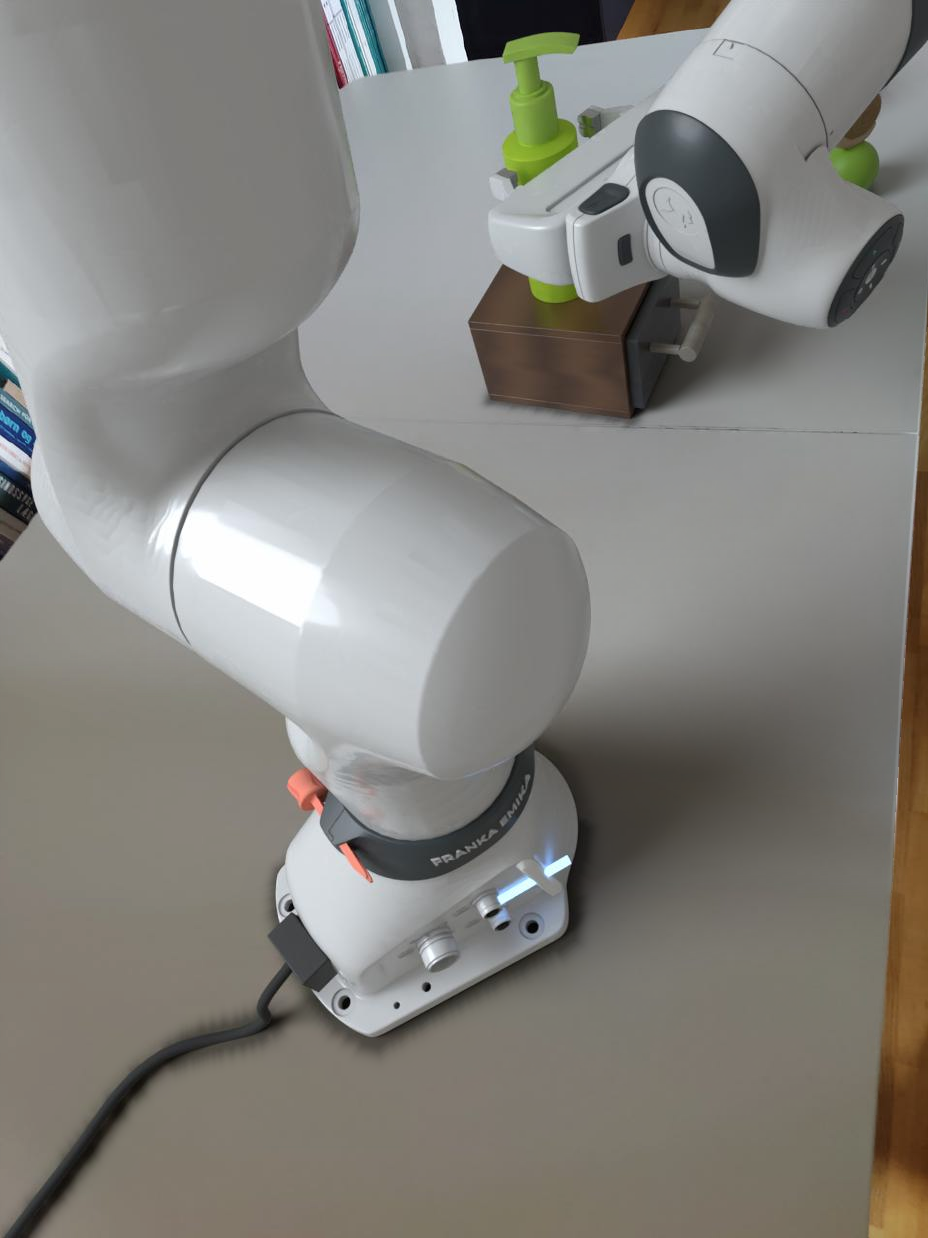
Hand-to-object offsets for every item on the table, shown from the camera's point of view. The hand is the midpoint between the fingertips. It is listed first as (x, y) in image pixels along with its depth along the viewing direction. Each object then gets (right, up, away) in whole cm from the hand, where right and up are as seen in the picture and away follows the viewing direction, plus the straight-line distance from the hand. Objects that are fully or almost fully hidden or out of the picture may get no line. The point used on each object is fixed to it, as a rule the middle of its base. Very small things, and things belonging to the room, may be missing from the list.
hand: (541, 150), depth 67 cm
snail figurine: (+34, +7, +22) cm, 41 cm away
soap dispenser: (+3, -7, +10) cm, 12 cm away
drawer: (+9, -12, +15) cm, 21 cm away
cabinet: (+5, -12, +17) cm, 22 cm away
